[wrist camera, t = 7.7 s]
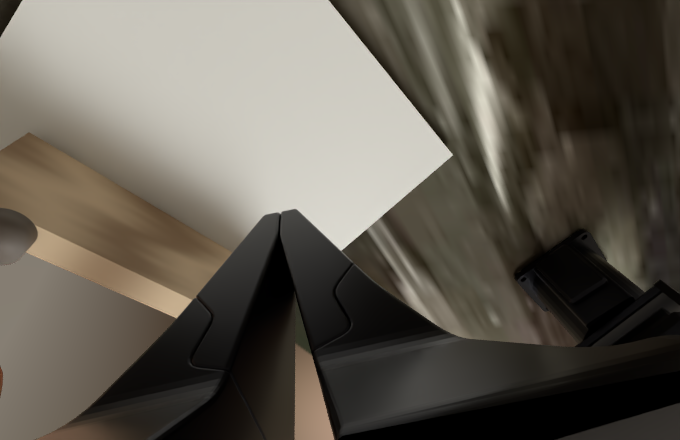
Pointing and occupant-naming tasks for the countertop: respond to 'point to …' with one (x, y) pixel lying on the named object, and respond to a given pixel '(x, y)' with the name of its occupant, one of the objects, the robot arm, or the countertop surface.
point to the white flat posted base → (218, 109)
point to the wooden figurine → (1, 380)
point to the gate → (98, 229)
